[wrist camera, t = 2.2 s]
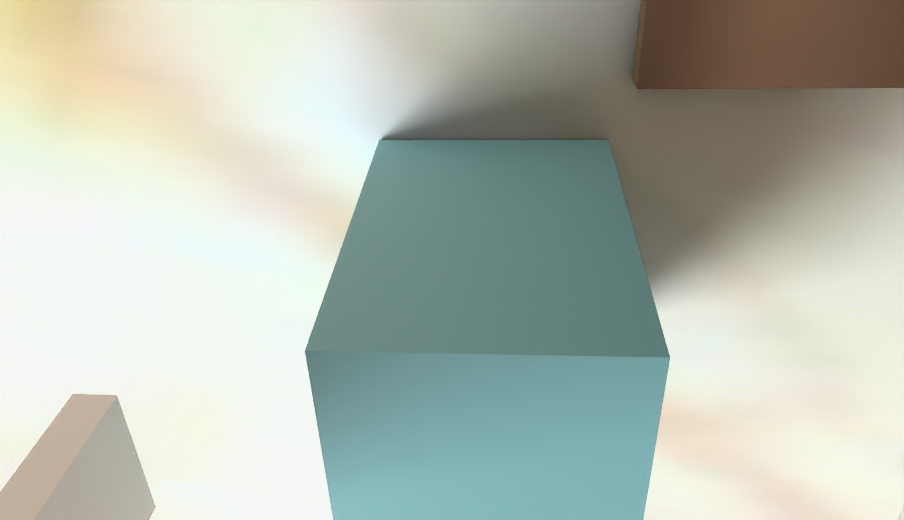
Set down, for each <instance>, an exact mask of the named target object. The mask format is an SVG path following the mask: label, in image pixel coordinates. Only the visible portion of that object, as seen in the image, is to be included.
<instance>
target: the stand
mask: <svg viewBox="0 0 904 520" xmlns="http://www.w3.org/2000/svg"><path fill="white" fill-rule="evenodd" d="M633 81H634V83H635V86H636V88H637V89H715V88H904V0H641V6H640V16H639V25H638V35H637V44H636V54H635V63H634V73H633Z"/></svg>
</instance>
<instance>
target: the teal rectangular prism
mask: <svg viewBox="0 0 904 520" xmlns="http://www.w3.org/2000/svg"><path fill="white" fill-rule="evenodd" d="M305 354H306V359H307V365H308V371H309V377H310V383H311V389H312V395H313V401H314V407H315V413H316V419H317V425H318V431H319V437H320V443H321V448H322V454H323V460H324V466H325V472H326V478H327V484H328V490H329V496H330V502H331V508H332V514H333V520H643V517H644V511H645V505H646V499H647V493H648V487H649V481H650V475H651V469H652V463H653V457H654V451H655V445H656V439H657V433H658V427H659V421H660V415H661V409H662V403H663V396H664V390H665V384H666V378H667V372H668V366H669V360H670V356H669V353H668V349H667V345H666V342H665V338H664V335H663V331H662V328H661V324H660V321H659V317H658V314H657V310H656V306H655V303H654V299H653V296H652V292H651V289H650V285H649V282H648V278H647V275H646V271H645V267H644V264H643V260H642V257H641V253H640V250H639V246H638V243H637V239H636V236H635V232H634V228H633V225H632V221H631V218H630V214H629V211H628V207H627V204H626V200H625V197H624V193H623V189H622V186H621V182H620V179H619V175H618V172H617V168H616V165H615V161H614V158H613V154H612V150H611V147H610V143H609V140H379V143H378V145H377V148H376V151H375V154H374V157H373V160H372V163H371V165H370V168H369V171H368V174H367V177H366V180H365V182H364V185H363V188H362V191H361V194H360V197H359V199H358V202H357V205H356V208H355V211H354V214H353V216H352V219H351V222H350V225H349V228H348V231H347V233H346V236H345V239H344V242H343V245H342V248H341V250H340V253H339V256H338V259H337V262H336V265H335V267H334V270H333V273H332V276H331V279H330V282H329V284H328V287H327V290H326V293H325V296H324V299H323V301H322V304H321V307H320V310H319V313H318V316H317V318H316V321H315V324H314V327H313V330H312V333H311V335H310V338H309V341H308V344H307V347H306V350H305Z"/></svg>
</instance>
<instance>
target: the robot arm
mask: <svg viewBox="0 0 904 520" xmlns="http://www.w3.org/2000/svg"><path fill="white" fill-rule="evenodd" d="M154 508H155V504H154V501H153V499H152V496H151V493H150V490H149V487H148V484H147V481H146V478H145V476H144V473H143V470H142V467H141V464H140V461H139V458H138V455H137V452H136V450H135V447H134V444H133V441H132V438H131V435H130V432H129V429H128V427H127V424H126V421H125V418H124V415H123V412H122V409H121V406H120V404H119V401H118V398H117V396H115V395H86V394H73V395H72V396H71V397H70V399H69V400H68V401H67V403H66V404H65V406H64V407H63V408H62V410H61V411H60V412H59V414H58V415H57V416H56V418H55V419H54V420H53V422H52V423H51V424H50V426H49V427H48V428H47V430H46V431H45V433H44V434H43V435H42V437H41V438H40V439H39V441H38V442H37V443H36V445H35V446H34V447H33V449H32V450H31V451H30V453H29V454H28V456H27V457H26V458H25V460H24V461H23V462H22V464H21V465H20V466H19V468H18V469H17V470H16V472H15V473H14V474H13V476H12V477H11V478H10V480H9V481H8V483H7V484H6V485H5V487H4V488H3V489H2V491H1V492H0V520H149V518H150V516H151V514H152V512H153V510H154ZM898 520H904V506H903V508H902V511H901V513H900V515H899V518H898Z"/></svg>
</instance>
